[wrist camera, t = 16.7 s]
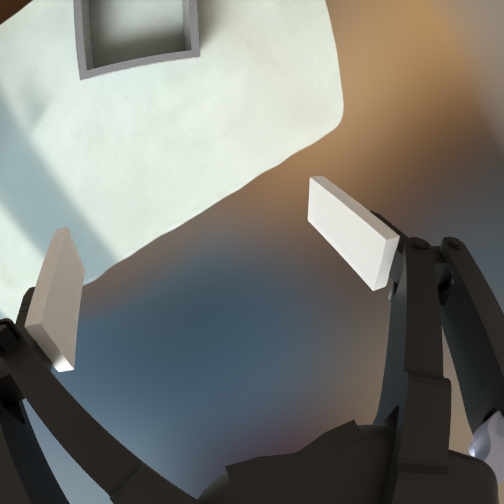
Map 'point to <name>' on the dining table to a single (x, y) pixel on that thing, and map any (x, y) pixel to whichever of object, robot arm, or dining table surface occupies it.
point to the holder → (88, 66)
